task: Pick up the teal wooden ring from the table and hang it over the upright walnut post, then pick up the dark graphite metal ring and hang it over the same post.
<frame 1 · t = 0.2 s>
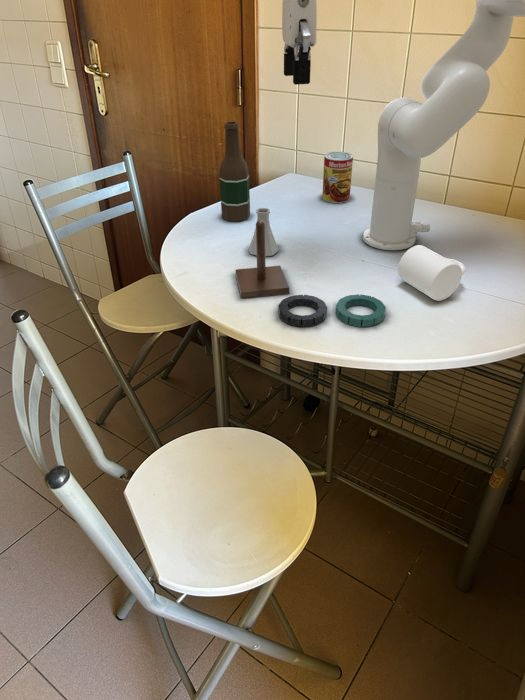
hand: (296, 79, 104), 36 cm above the table, tool pointing down, fingers open, 9 cm apart
canned food: (335, 198, 152), on the table
mug: (433, 288, 110), on the table
graphite ring: (302, 313, 102), on the table
stand: (261, 284, 112), on the table
flask: (263, 251, 125), on the table
teal ring: (360, 313, 102), on the table
beer bottle: (236, 217, 142), on the table
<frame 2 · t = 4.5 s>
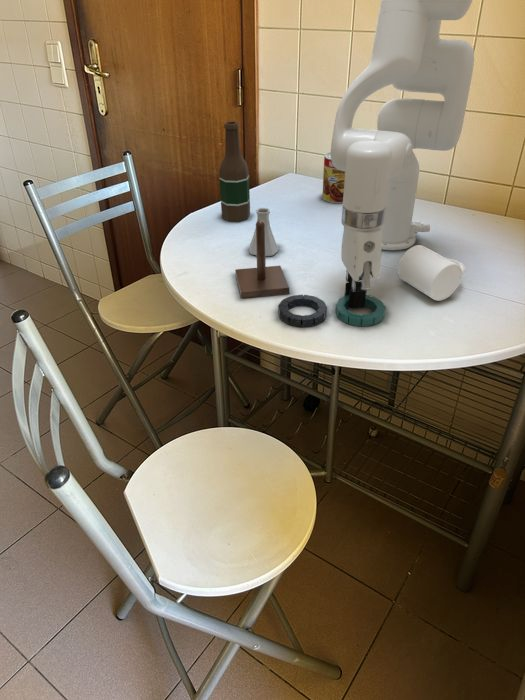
hand: (354, 302, 105), 0 cm above the table, tool pointing down, fingers closed on teal ring, 2 cm apart
teal ring: (359, 313, 102), on the table, touching gripper
everything else where it was.
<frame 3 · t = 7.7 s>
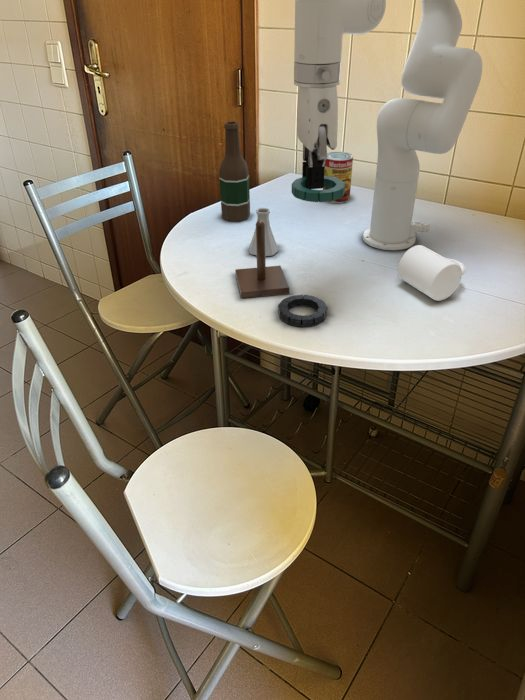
hand: (312, 185, 96), 22 cm above the table, tool pointing down, fingers closed on teal ring
teal ring: (318, 192, 93), point 22 cm above the table, touching gripper
everything else where it was.
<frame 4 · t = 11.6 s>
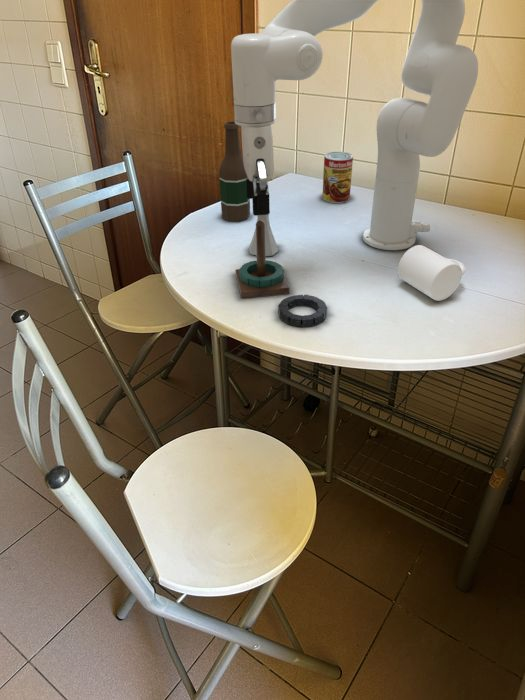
hand: (257, 205, 106), 16 cm above the table, tool pointing down, fingers open, 8 cm apart
teal ring: (261, 276, 112), point 1 cm above the table, touching stand
everything else where it was.
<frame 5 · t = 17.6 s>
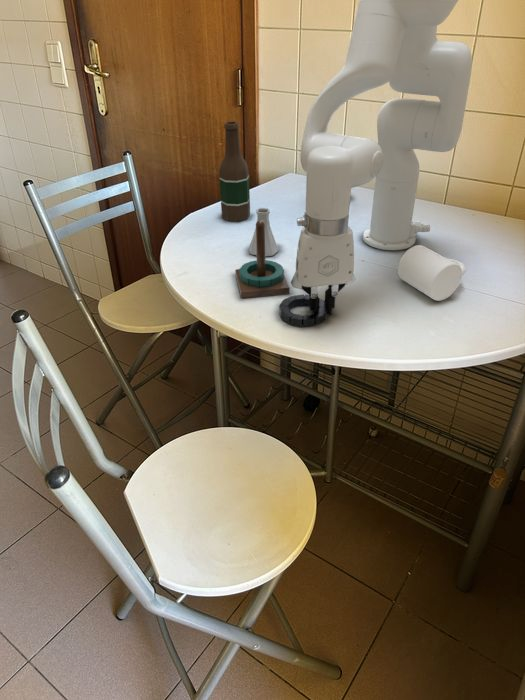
hand: (321, 311, 103), 0 cm above the table, tool pointing down, fingers closed on graphite ring, 2 cm apart
graphite ring: (303, 313, 102), on the table, touching gripper
everything else where it was.
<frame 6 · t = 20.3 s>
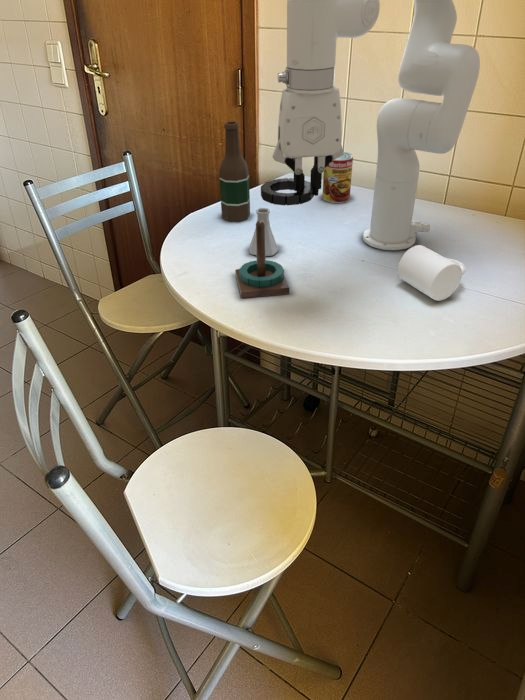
hand: (307, 193, 94), 22 cm above the table, tool pointing down, fingers closed on graphite ring
graphite ring: (287, 195, 93), point 22 cm above the table, touching gripper
everything else where it was.
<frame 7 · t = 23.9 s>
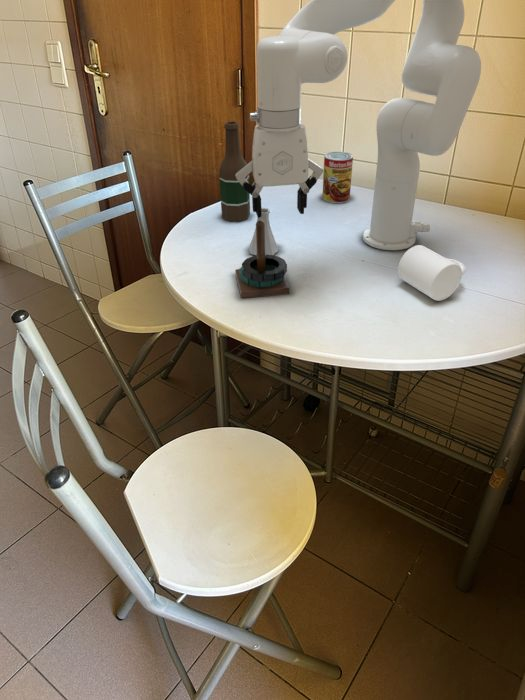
hand: (279, 212, 103), 16 cm above the table, tool pointing down, fingers open, 7 cm apart
graphite ring: (264, 271, 110), point 3 cm above the table, touching teal ring
teal ring: (261, 276, 112), point 1 cm above the table, touching graphite ring, stand
everything else where it was.
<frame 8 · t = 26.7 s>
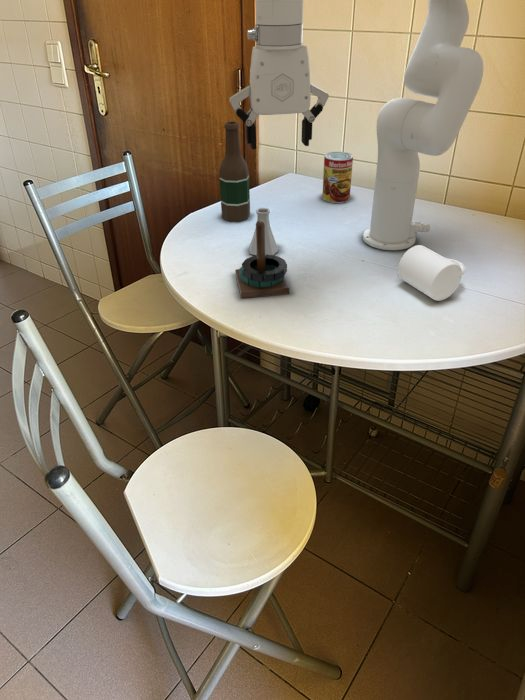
hand: (279, 145, 96), 28 cm above the table, tool pointing down, fingers open, 9 cm apart
nothing on the table moved.
at the end: teal ring 0.7 cm off-centre on the stand, point 1.5 cm above the stand's base; graphite ring 0.7 cm off-centre on the stand, point 3.1 cm above the stand's base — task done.
